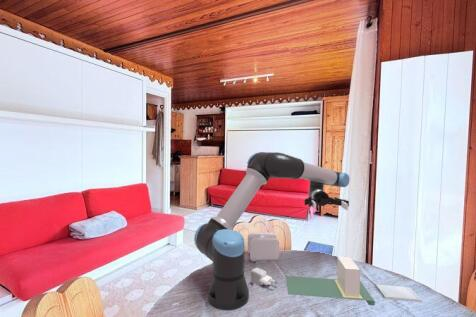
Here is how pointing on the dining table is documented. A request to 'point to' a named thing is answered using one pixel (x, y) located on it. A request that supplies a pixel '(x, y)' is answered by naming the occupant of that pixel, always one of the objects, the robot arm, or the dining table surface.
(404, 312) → the dining table surface
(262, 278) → the power adapter
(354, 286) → the block
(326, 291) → the board
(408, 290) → the hard drive
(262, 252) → the cable organizer
